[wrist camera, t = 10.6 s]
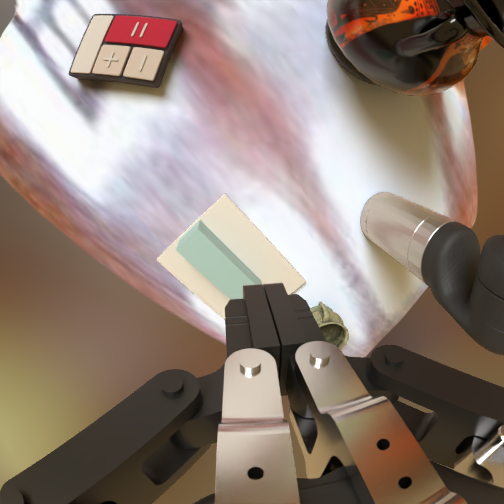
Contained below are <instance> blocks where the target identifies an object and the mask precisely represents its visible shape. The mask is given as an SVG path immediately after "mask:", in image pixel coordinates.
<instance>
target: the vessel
mask: <svg viewBox="0 0 504 504" xmlns="http://www.w3.org/2000/svg"><path fill="white" fill-rule="evenodd" d="M310 311H311V312H312V314H313V316H314V318H315V319H316V321H317V323H318V325H319V327H320V329H321V331H322V333H323V335H324V337H325V339H326V341H327V342H328V343H331V344H333V345H335V346H337V347H338V348H339V349H340V350H341V349H342V348H343V347H344V346H345V345H346V342H347V340H348V337H349V334H348V330H347V328H346V327H345V326H344V325H343V321H342V319H341V318H340V316H339V315H338V314H337V313H335V312H333V311H332V309H330V308H329V307H327V306H326V305H325V304H322V302H319V306H315V307H312V308H310Z"/></svg>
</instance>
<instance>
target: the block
mask: <svg viewBox="0 0 504 504" xmlns="http://www.w3.org/2000/svg"><path fill="white" fill-rule="evenodd" d="M176 251H178V252H179V253H180V254H181V255H182V256H183V257H184V258H185V259H186V260H187V261H188V262H189V263H190V264H191V265H193V266H194V267H195V268H196V269H197V270H198V271H199V272H200V273H201V274H202V275H203V276H205V277H206V278H207V279H208V280H209V281H210V282H211V283H212V284H213V285H214V286H216V287H217V288H218V289H219V290H220V291H221V292H222V293H223V294H225V295H226V296H227V297H228V298H229V299H243V285H258V284H262V282H261V280H260V279H259V278H258V277H257V276H256V275H255V274H254V273H253V272H252V271H251V270H250V269H249V268H248V267H247V266H246V265H245V264H244V263H243V262H242V261H241V260H240V259H239V258H238V257H237V256H236V255H235V254H234V253H233V252H232V251H231V250H230V249H229V248H228V247H227V246H226V245H225V244H224V243H223V242H222V241H221V240H220V239H219V238H218V237H217V236H216V235H215V234H214V233H213V232H212V231H211V230H210V229H209V228H208V227H207V226H206V225H205V224H204V223H203V222H202V221H201V220H199V221H198V222H197V223H196V224H195V225H194V226H193V227H192V228H191V229H190V230H189V231H188V232H187V233H185V234H184V235H183V236H182V237H181V238H180V240H179V242H178V245H177V247H176Z"/></svg>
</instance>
